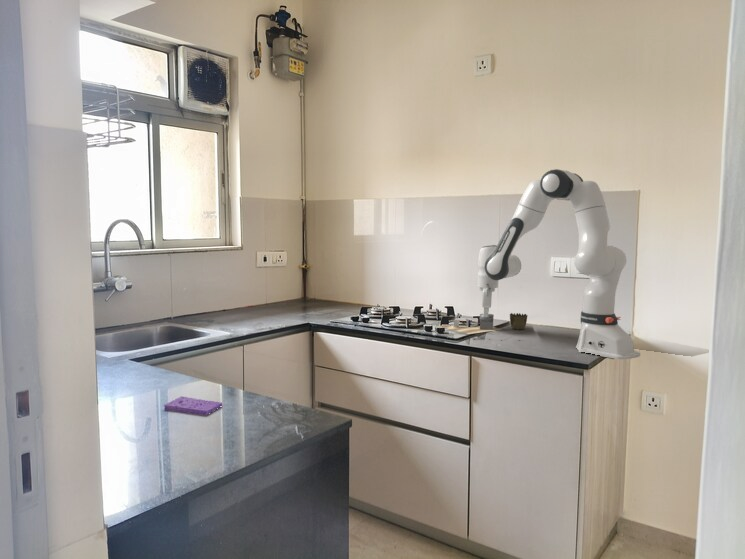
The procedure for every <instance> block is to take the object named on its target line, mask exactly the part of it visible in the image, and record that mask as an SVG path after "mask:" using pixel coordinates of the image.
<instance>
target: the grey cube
mask: <svg viewBox="0 0 745 559" xmlns="http://www.w3.org/2000/svg"><path fill="white" fill-rule="evenodd" d="M494 318H495V317H494V314H492V313H488V317H484V313H480V314H479V324H480V329H482V330H493V327H494Z"/></svg>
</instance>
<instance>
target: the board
mask: <svg viewBox="0 0 745 559" xmlns="http://www.w3.org/2000/svg"><path fill="white" fill-rule="evenodd" d="M437 327H439V328H442V329H443V328H444V329H446V330H451V331H454V332H458V333H463V334H467V335H471V334H472V335H474V334H480V333H485V332H494V331H495V332H496V331H501V330H503V329H502V328H500V327H499V328H498V327H494V326H493V330H482V329H480V326H479V327H459V328H456V327H454V326H450V324H442V325H437V326H436V328H437Z"/></svg>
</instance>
